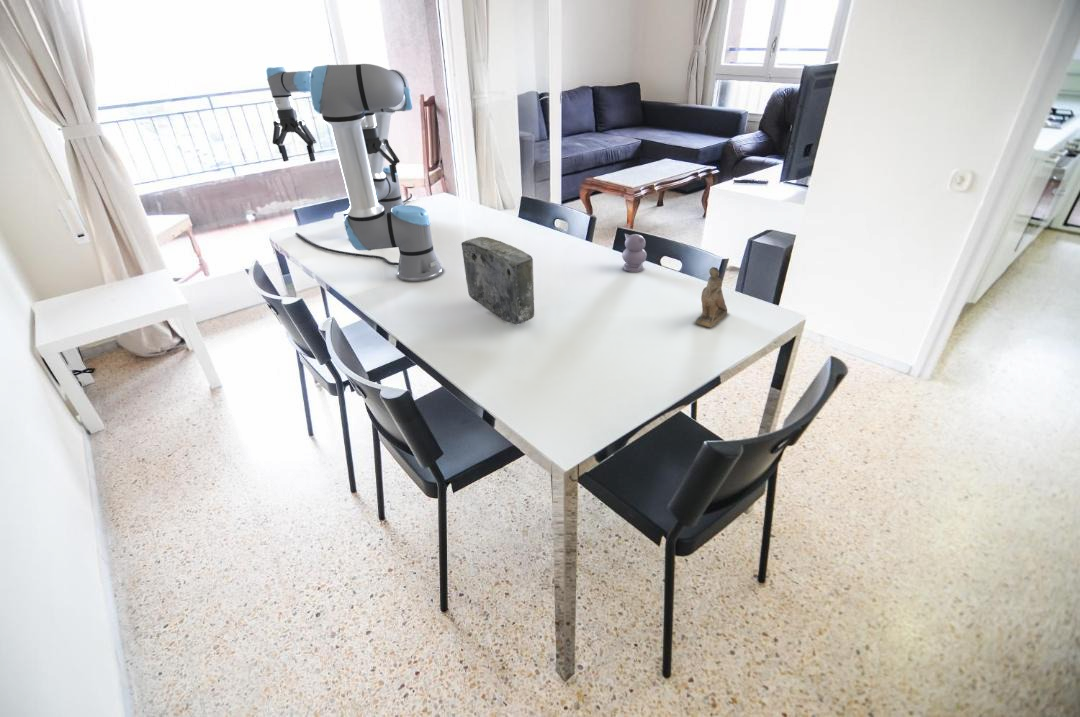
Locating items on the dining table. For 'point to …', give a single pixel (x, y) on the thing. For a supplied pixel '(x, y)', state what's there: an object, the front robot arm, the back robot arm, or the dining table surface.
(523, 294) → the concrete block
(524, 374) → the dining table surface
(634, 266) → the cat figurine
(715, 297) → the brown carved statuette
